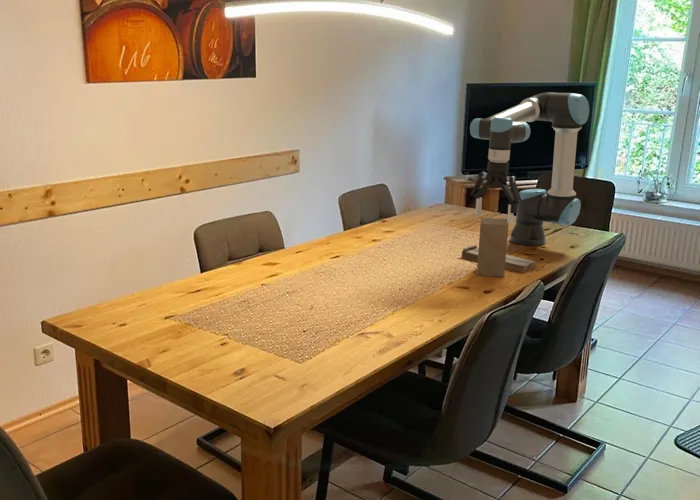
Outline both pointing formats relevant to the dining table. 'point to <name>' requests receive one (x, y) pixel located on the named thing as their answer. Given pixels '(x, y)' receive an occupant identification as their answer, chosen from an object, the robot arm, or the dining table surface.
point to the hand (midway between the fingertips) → (493, 218)
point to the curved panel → (510, 262)
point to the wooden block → (492, 247)
